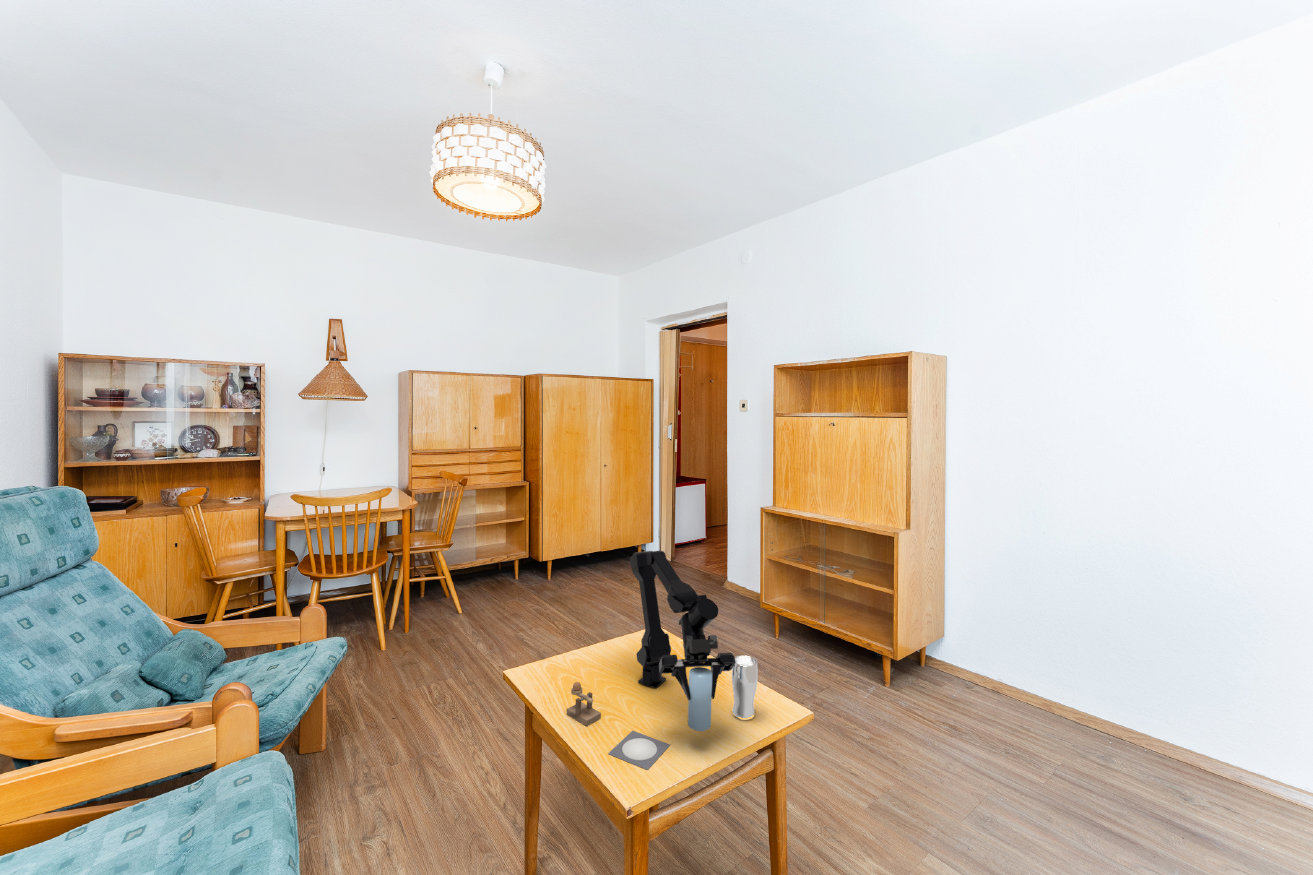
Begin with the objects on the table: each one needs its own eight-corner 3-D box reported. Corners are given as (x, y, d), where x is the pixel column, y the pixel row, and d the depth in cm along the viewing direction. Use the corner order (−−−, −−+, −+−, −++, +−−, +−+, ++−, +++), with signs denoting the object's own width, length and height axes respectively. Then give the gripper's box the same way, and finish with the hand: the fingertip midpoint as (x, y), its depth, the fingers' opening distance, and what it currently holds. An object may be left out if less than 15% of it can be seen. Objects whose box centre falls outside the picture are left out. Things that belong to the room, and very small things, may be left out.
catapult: (565, 713, 144) (566, 683, 143) (579, 706, 147) (580, 677, 147) (586, 726, 138) (587, 695, 138) (600, 718, 142) (601, 688, 141)
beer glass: (728, 707, 149) (729, 654, 148) (752, 707, 149) (754, 654, 149) (733, 722, 142) (735, 666, 141) (759, 721, 142) (761, 666, 142)
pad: (632, 730, 137) (632, 730, 137) (670, 744, 131) (670, 744, 131) (607, 753, 127) (607, 753, 127) (647, 770, 122) (647, 769, 122)
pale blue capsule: (693, 715, 135) (695, 665, 134) (714, 722, 132) (715, 670, 132) (683, 726, 130) (685, 674, 129) (704, 733, 127) (706, 680, 127)
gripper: (662, 623, 133) (667, 690, 122) (734, 621, 135) (746, 686, 125) (656, 641, 141) (661, 704, 130) (725, 639, 143) (735, 701, 133)
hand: (701, 699), depth 129 cm, fingers closed on pale blue capsule, 6 cm apart
